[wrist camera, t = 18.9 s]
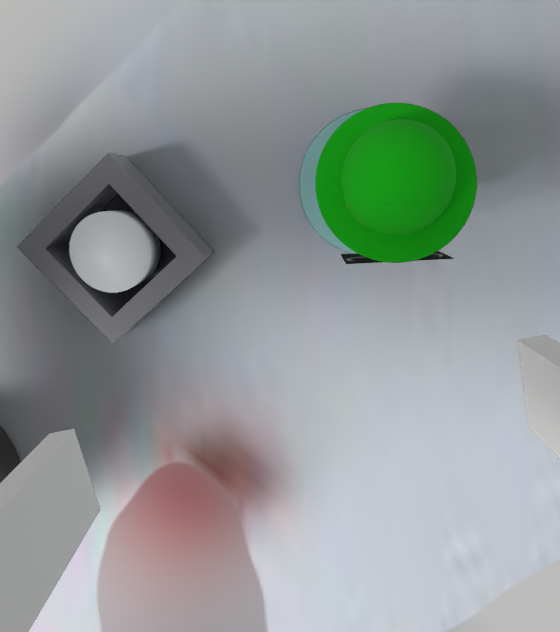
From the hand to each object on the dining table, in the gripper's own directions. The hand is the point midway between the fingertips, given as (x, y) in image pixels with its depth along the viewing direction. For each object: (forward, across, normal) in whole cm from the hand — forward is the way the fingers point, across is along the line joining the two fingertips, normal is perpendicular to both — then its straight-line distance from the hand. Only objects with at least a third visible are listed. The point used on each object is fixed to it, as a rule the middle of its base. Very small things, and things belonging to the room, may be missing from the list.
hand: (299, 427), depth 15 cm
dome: (+28, -13, +5) cm, 31 cm away
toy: (+28, +7, +6) cm, 30 cm away
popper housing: (+29, -12, +5) cm, 32 cm away
